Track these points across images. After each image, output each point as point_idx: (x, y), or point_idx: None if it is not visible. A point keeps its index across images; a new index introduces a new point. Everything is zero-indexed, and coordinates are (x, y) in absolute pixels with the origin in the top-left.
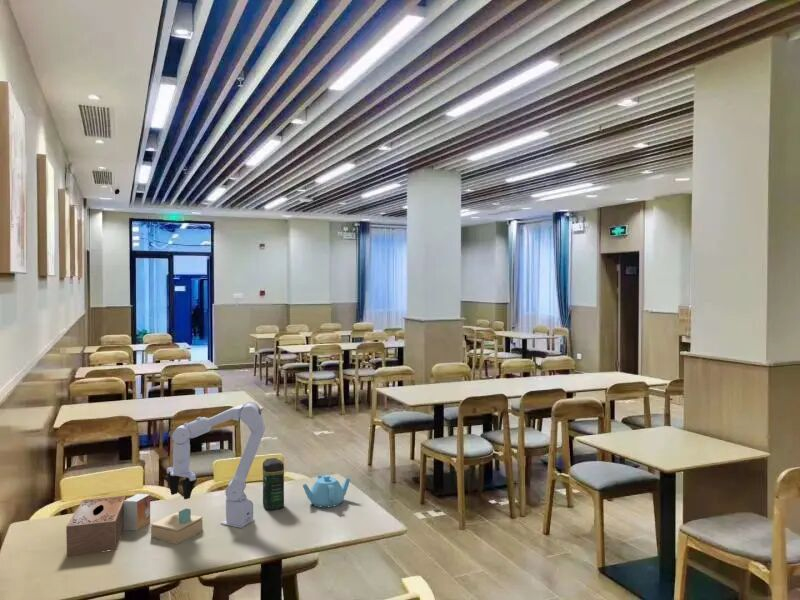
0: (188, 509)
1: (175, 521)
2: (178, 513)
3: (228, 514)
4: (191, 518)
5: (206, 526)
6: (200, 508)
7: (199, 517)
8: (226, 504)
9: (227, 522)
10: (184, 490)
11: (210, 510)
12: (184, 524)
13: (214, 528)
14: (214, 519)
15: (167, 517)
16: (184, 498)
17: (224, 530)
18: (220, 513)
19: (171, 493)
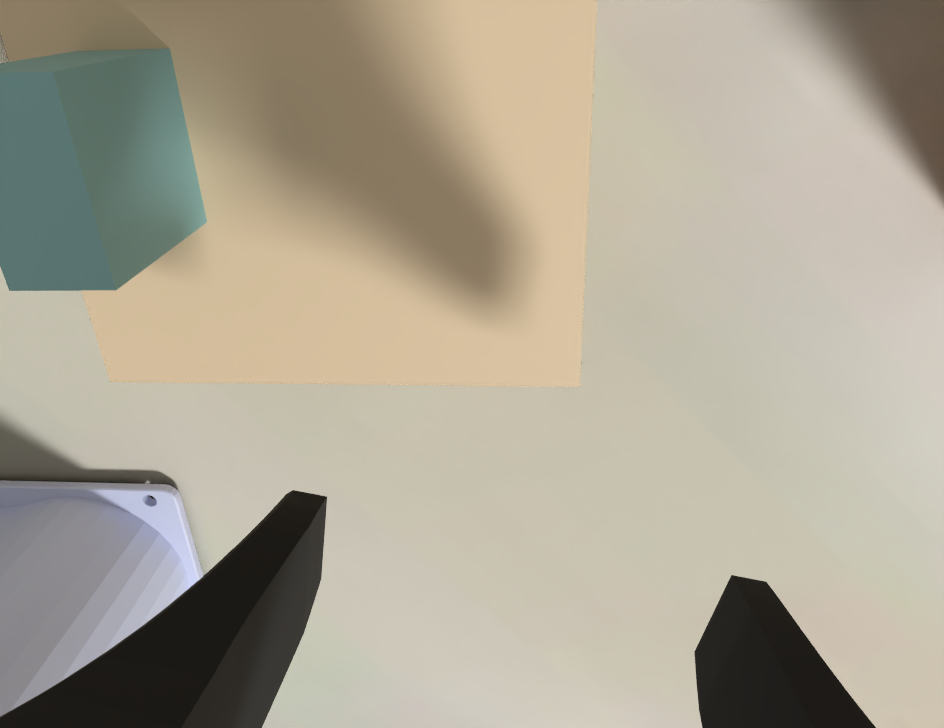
0: (24, 263)
1: (285, 88)
2: (512, 356)
3: (30, 565)
4: (183, 286)
5: (254, 400)
6: (660, 679)
7: (125, 354)
8: (6, 663)
9: (99, 507)
10: (165, 624)
11: (534, 671)
12: (48, 51)
13: (141, 391)
14: (332, 545)
15: (552, 170)
16: (299, 500)
17: (16, 389)
18: (396, 650)
19: (758, 594)
